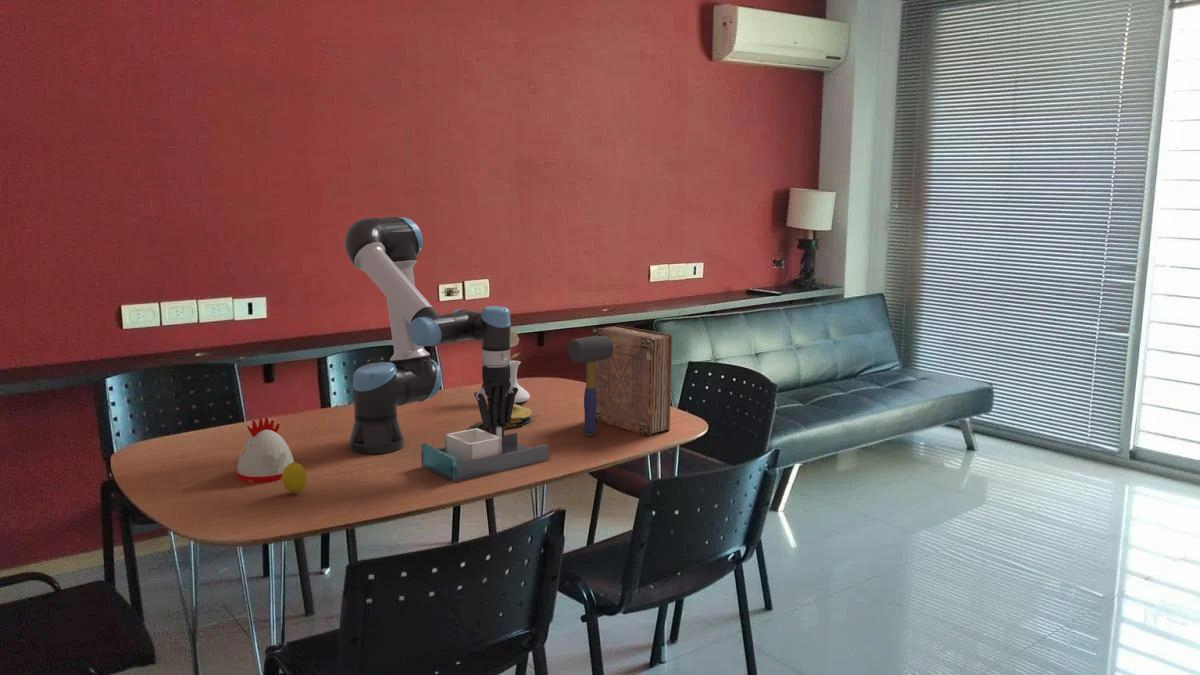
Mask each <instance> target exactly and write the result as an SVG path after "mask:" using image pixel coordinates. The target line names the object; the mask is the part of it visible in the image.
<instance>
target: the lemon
mask: <svg viewBox="0 0 1200 675" xmlns="http://www.w3.org/2000/svg"><path fill="white" fill-rule="evenodd" d="M307 477H308V476H307V472H306V469H305V468H304V466H303V465H302V464H300V463H298V462H296V461H294V462H292V463H291V464H289V465H288V466H286V467H285V469H284V471H283V476H282V480H281V481H282V485H283V487H284V488H285V489H286V490H287V491H288V492H290V493H293V495H294V494H296V495H297V494H298V493H299V491H302V490H304V488H305V486H306V484H307Z"/></svg>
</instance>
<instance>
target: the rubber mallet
mask: <svg viewBox="0 0 1200 675" xmlns="http://www.w3.org/2000/svg"><path fill="white" fill-rule="evenodd" d="M568 343H569V344H568V348H567V353H568V357H569V359H570V360H571V361H572V362H573V363H586V374H585V375H586V380H585V381H586V382H585V384H586V385H585V389H584V395H583V409H584V424H583V427H582V431H583V433H584V435H585V436H586V437H587V436H588V437H591V436H595V434H596V432H597V423H596V421H595V412H596V389H595V361H599V360H604V359H608V358H610V357H611V356H612V353H613V344H612V341H611V339H610V338H609V337H607V336H593V337H592V336H586V337H579V338H574V339H572V340H571V341H570V342H568Z"/></svg>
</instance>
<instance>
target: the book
mask: <svg viewBox="0 0 1200 675" xmlns="http://www.w3.org/2000/svg"><path fill="white" fill-rule="evenodd" d="M593 336H607V337H609V338H610V339H611V341H612V344H613V353H612V356H611V357H610V358H608V359H604V360H599V361H595V389H596V412H595V422H598V421H599V422H598V423H601V422H602V423H601V424H604V423H605V425H608V424H609V425H608V426H611V425H612V426H611V427H614V426H616V427H615V428H618V427H619V428H618V429H621V428H623V429H622V430H624V429H626V430H625V431H628V430H630V431H629V432H631V431H633V432H632V433H634V432H636V433H635V434H638V433H640V434H639V435H641V434H643V436H645V435H646V437H648V436H650V437H651V436H652V434H656V433H660V432H664V431H665V430H668V431H667V432H669V431H670V430H671V402H672V401H671V396H672V395H671V394H672V363H673V362H672V359H673V357H672V356H673V335H672V334H669V333H665V332H660V331H659V332H658V331H654V330H653V331H652V330H648V329H643V328H642V329H640V328H637V327H636V328H635V327H632V326H631V327H630V326H625V325H624V326H623V325H618V324H610V325H603V326H596V327H592V336H591V337H593Z"/></svg>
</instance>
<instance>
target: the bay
mask: <svg viewBox="0 0 1200 675" xmlns="http://www.w3.org/2000/svg"><path fill="white" fill-rule="evenodd" d="M420 446H421V447H420V449H421V450H420V453H421V454H420V455H421V457H420V458H421V460H420V461H421V468H423V469H425V470H427V471H429V472H430V473H433V474H434V475H437V476H439V477H441V478H443V479H445V480H447V481H449V482H450V483H453V482H454V483H458V482H462V481H466V480H471V479H475V478H478V477H484V476H487V474H488V475H491V473H492V474H496V473H499V471H500V472H504V470H505V471H508V470H513V469H517V468H520V467H521V468H522V467H525V465H526V466H529V465H533V464H538V463H542V462H545V461H549V444H545V443H544V444H541V445H537V446H532V447H528V446H525V445H523V444H519V443H518V432H515V431H514V432H510V433H504V437H502V454H500V455H495V456H491V457H486V458H482V459H477V460H473V461H468V462H464V463H459V464H457V458H455V457H453V456H451V455H449V454H447V453H445V446H442V447H437V448H435V447H434V446H433V445H429V444H427V443H422V444H420ZM457 481H458V482H457Z"/></svg>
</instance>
